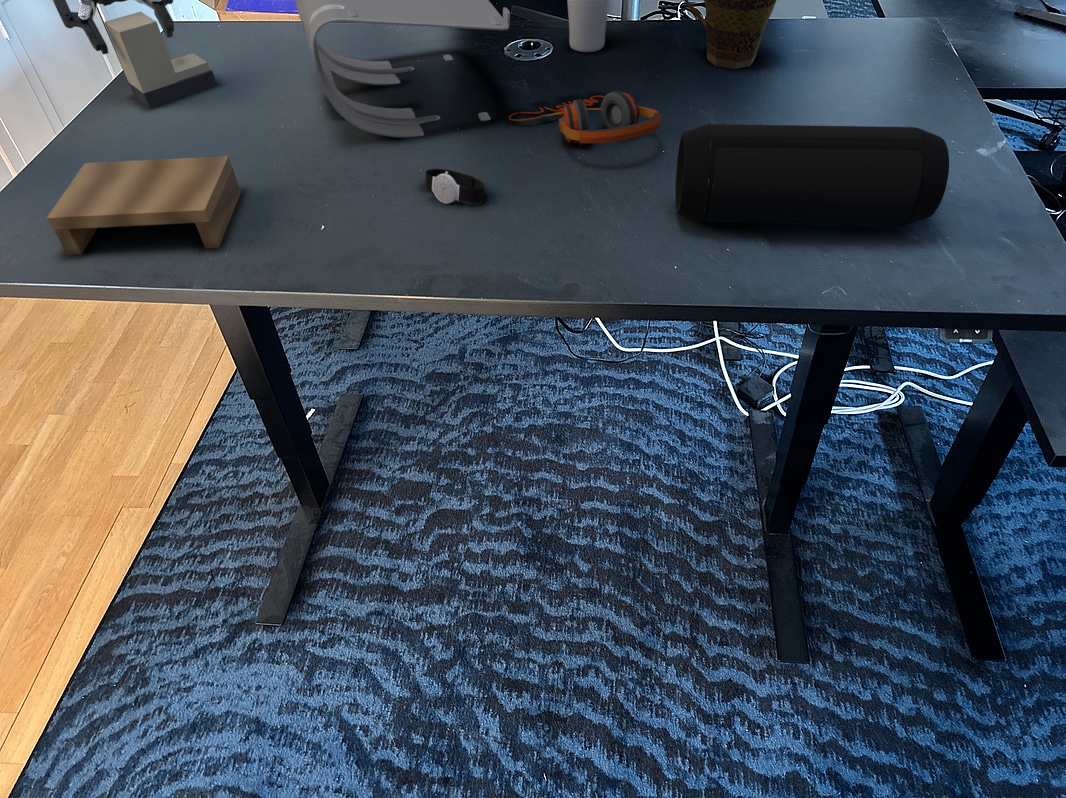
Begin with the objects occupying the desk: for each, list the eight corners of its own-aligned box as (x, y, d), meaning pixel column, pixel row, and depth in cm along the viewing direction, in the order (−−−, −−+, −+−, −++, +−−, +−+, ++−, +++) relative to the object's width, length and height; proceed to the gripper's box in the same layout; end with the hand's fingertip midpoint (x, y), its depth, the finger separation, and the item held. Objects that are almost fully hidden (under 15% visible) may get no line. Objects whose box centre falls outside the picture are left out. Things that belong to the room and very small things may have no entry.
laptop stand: (311, 73, 112) (284, -44, 101) (468, 49, 117) (458, -66, 106) (336, 156, 95) (306, 26, 84) (518, 123, 100) (512, -4, 89)
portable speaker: (903, 195, 86) (935, 109, 79) (927, 247, 79) (964, 158, 72) (672, 190, 88) (682, 106, 81) (676, 241, 81) (687, 153, 74)
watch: (417, 195, 89) (413, 167, 86) (442, 177, 91) (439, 149, 89) (470, 215, 85) (467, 186, 83) (495, 196, 88) (493, 167, 85)
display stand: (68, 258, 82) (46, 217, 78) (103, 202, 89) (84, 162, 86) (220, 250, 82) (204, 209, 78) (242, 195, 90) (228, 155, 86)
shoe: (150, 111, 105) (119, 32, 98) (135, 100, 108) (103, 21, 100) (218, 88, 110) (192, 10, 102) (202, 77, 112) (176, 1, 105)
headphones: (504, 135, 103) (568, 172, 87) (498, 94, 100) (564, 124, 84) (615, 110, 107) (695, 140, 92) (613, 69, 105) (695, 94, 89)
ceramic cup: (773, 51, 114) (787, -23, 106) (756, 79, 107) (770, 2, 100) (688, 38, 118) (696, -33, 110) (667, 64, 111) (674, -10, 104)
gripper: (11, -83, 94) (79, 42, 96) (129, -105, 100) (191, 14, 102) (23, -45, 101) (86, 71, 103) (132, -68, 107) (190, 43, 108)
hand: (138, 42), depth 102 cm, fingers open, 8 cm apart
